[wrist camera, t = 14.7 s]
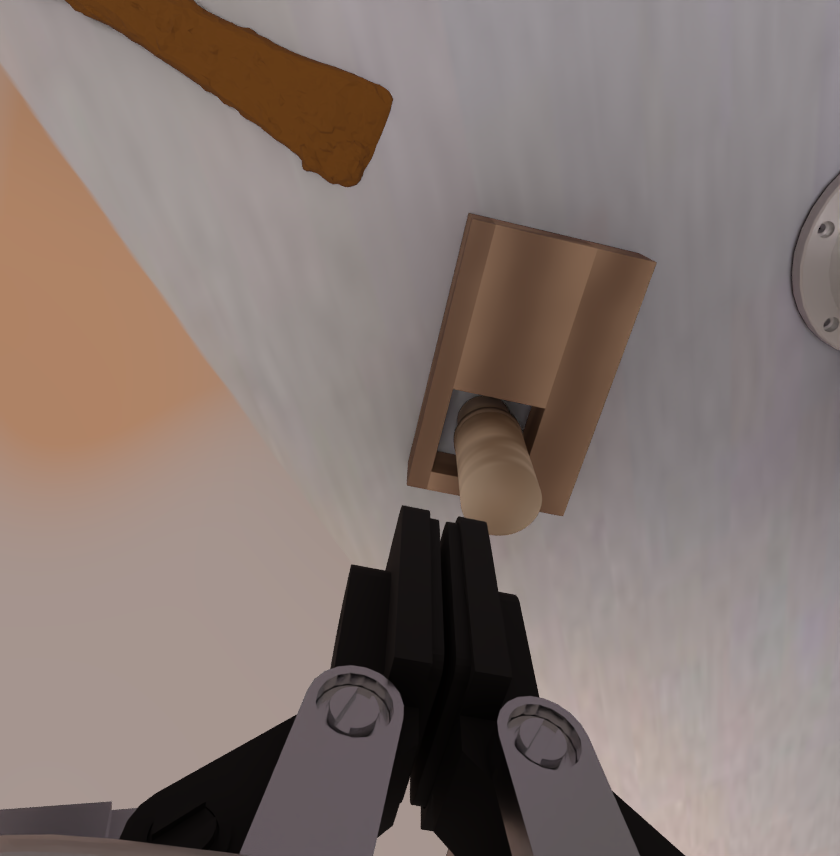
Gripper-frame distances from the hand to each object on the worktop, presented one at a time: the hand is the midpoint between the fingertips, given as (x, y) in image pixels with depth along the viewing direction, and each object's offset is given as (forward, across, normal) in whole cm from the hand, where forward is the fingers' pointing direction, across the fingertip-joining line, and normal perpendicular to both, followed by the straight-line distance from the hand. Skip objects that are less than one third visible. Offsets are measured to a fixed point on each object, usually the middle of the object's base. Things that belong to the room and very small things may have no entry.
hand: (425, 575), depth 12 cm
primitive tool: (+28, +13, -10) cm, 32 cm away
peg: (+27, -6, +8) cm, 29 cm away
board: (+27, -6, +4) cm, 28 cm away
